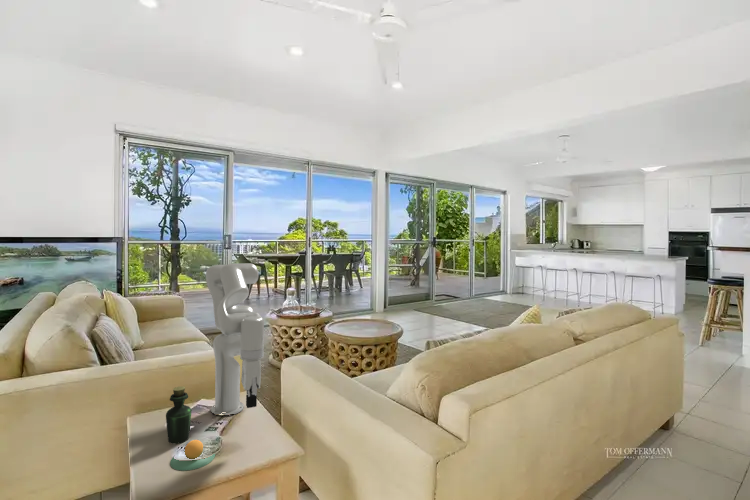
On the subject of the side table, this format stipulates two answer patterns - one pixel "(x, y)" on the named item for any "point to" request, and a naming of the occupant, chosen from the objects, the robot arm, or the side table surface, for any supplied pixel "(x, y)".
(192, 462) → the disc
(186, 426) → the potion bottle
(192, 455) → the ball
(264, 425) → the side table surface
